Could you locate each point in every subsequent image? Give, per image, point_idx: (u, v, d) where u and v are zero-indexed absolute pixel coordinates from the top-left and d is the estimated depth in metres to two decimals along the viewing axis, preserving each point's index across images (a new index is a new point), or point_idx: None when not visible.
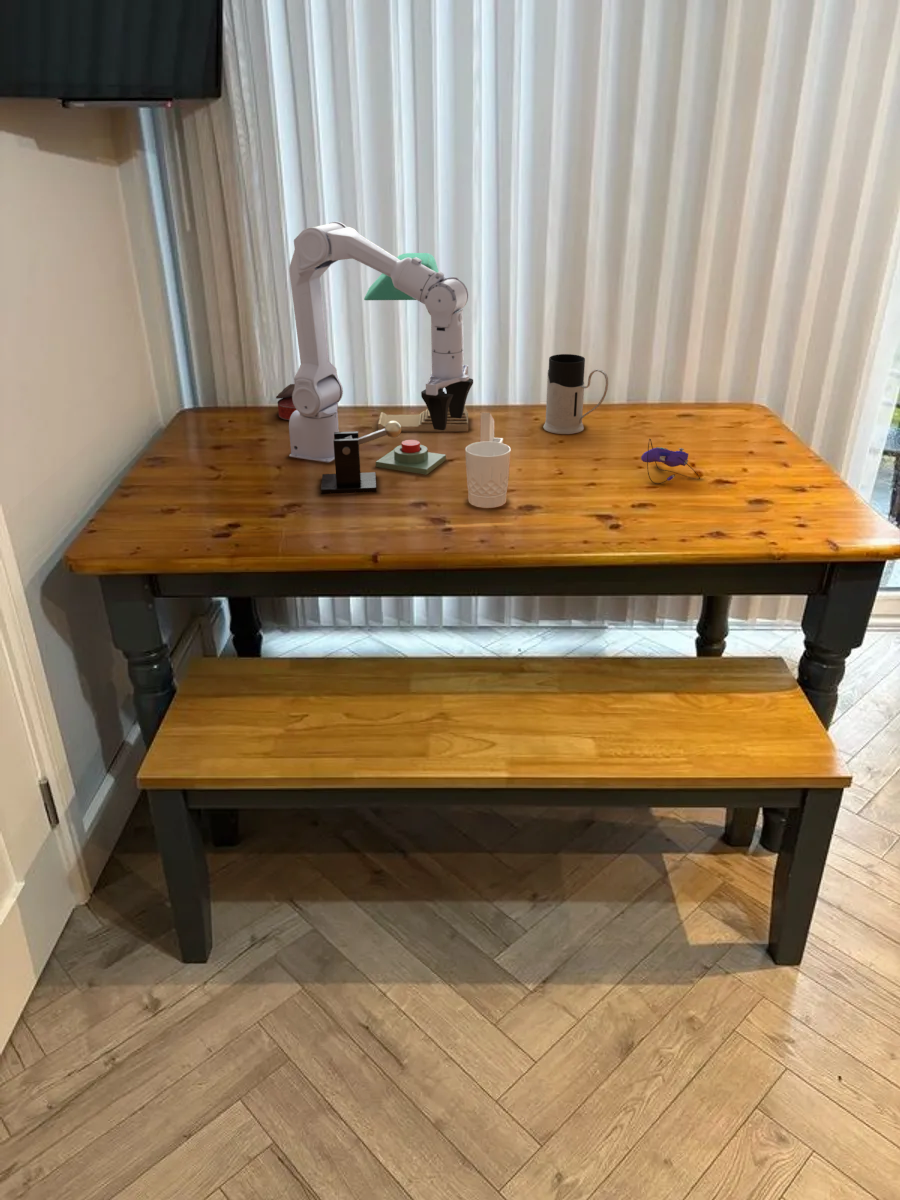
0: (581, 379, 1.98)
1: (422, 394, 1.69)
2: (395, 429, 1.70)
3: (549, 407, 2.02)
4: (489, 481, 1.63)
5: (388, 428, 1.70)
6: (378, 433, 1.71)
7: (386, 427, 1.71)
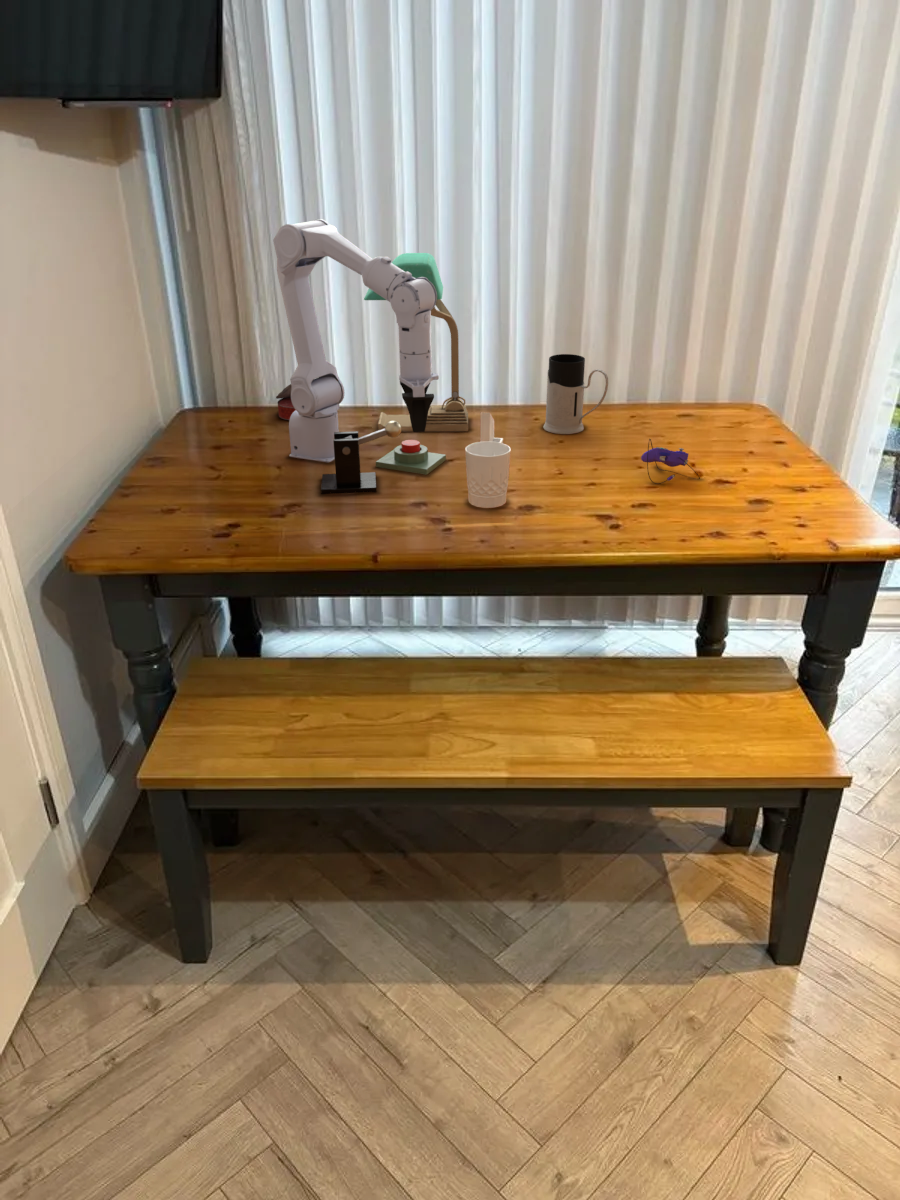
0: (581, 379, 1.98)
1: (405, 398, 1.66)
2: (395, 429, 1.70)
3: (549, 407, 2.02)
4: (489, 481, 1.63)
5: (388, 428, 1.70)
6: (378, 433, 1.71)
7: (386, 427, 1.71)
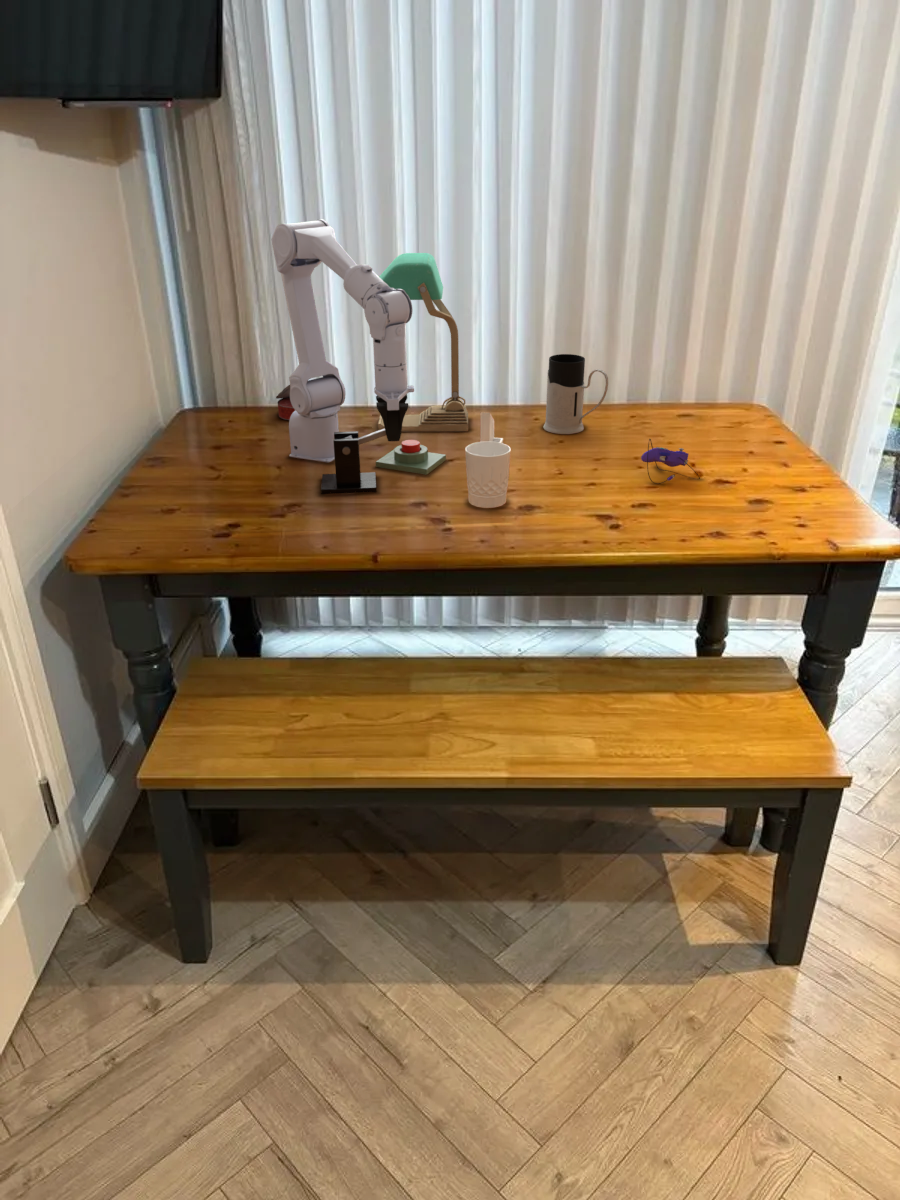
0: (581, 379, 1.98)
1: (379, 407, 1.66)
2: None
3: (549, 407, 2.02)
4: (489, 481, 1.63)
5: None
6: (378, 433, 1.71)
7: None
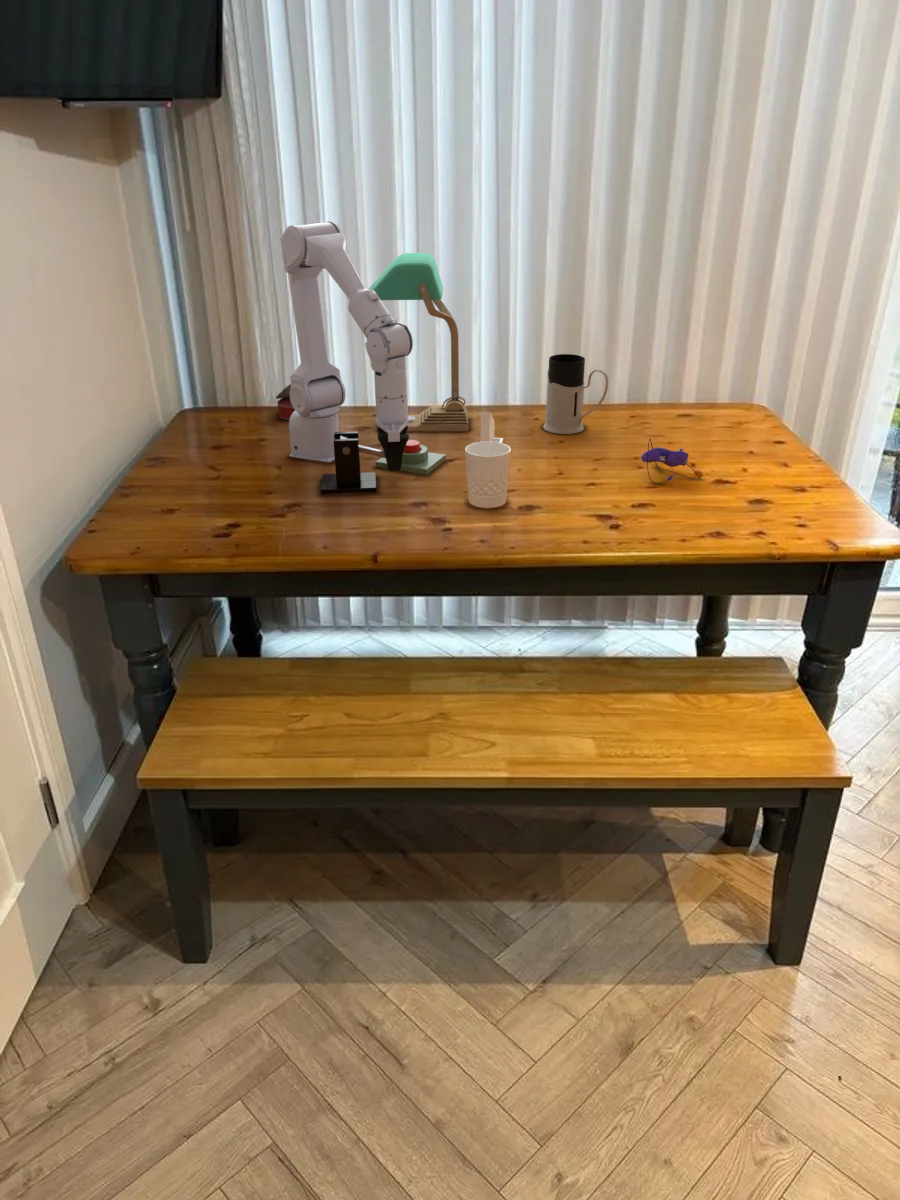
0: (581, 379, 1.98)
1: (380, 438, 1.68)
2: None
3: (549, 407, 2.02)
4: (489, 481, 1.63)
5: None
6: (380, 452, 1.73)
7: None
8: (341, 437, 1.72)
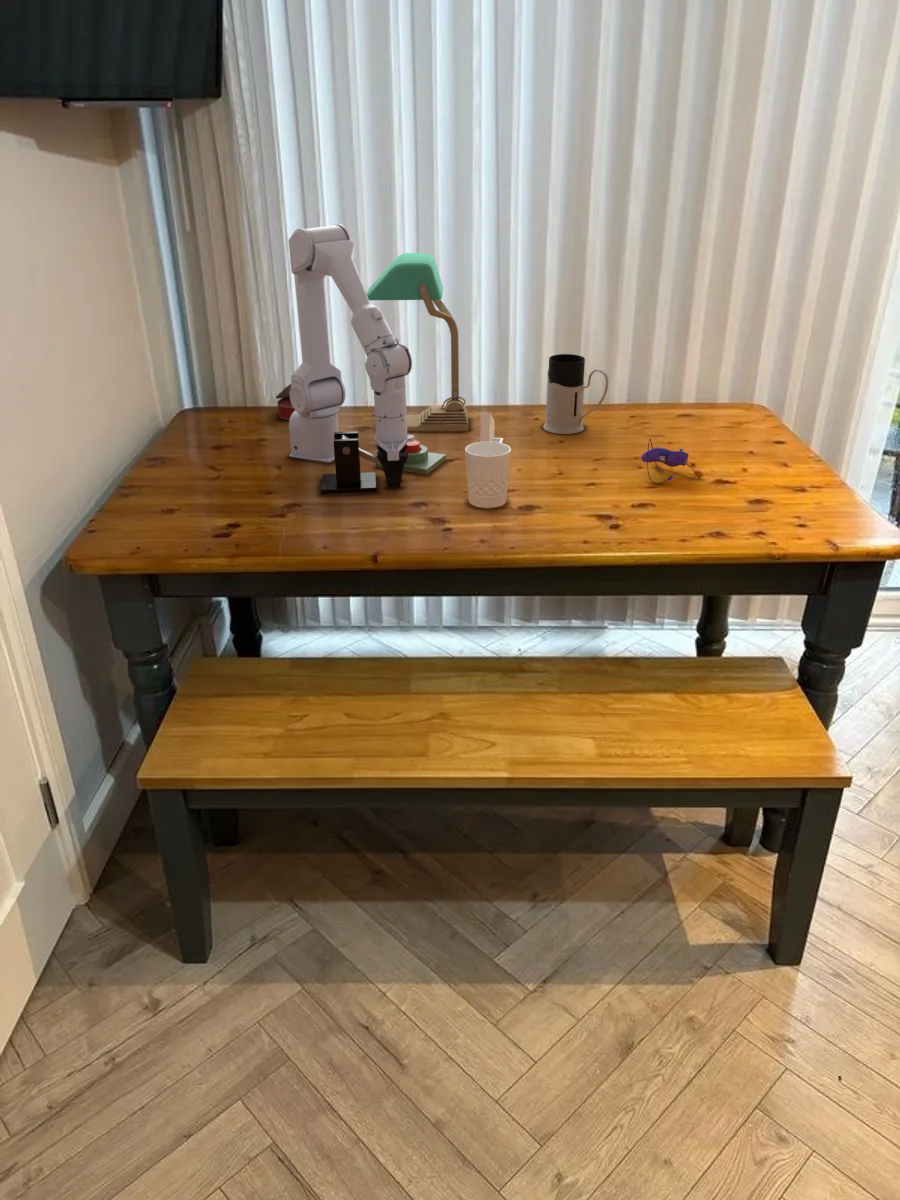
0: (581, 379, 1.98)
1: (380, 457, 1.70)
2: None
3: (549, 407, 2.02)
4: (489, 481, 1.63)
5: None
6: (378, 460, 1.74)
7: None
8: (343, 436, 1.72)
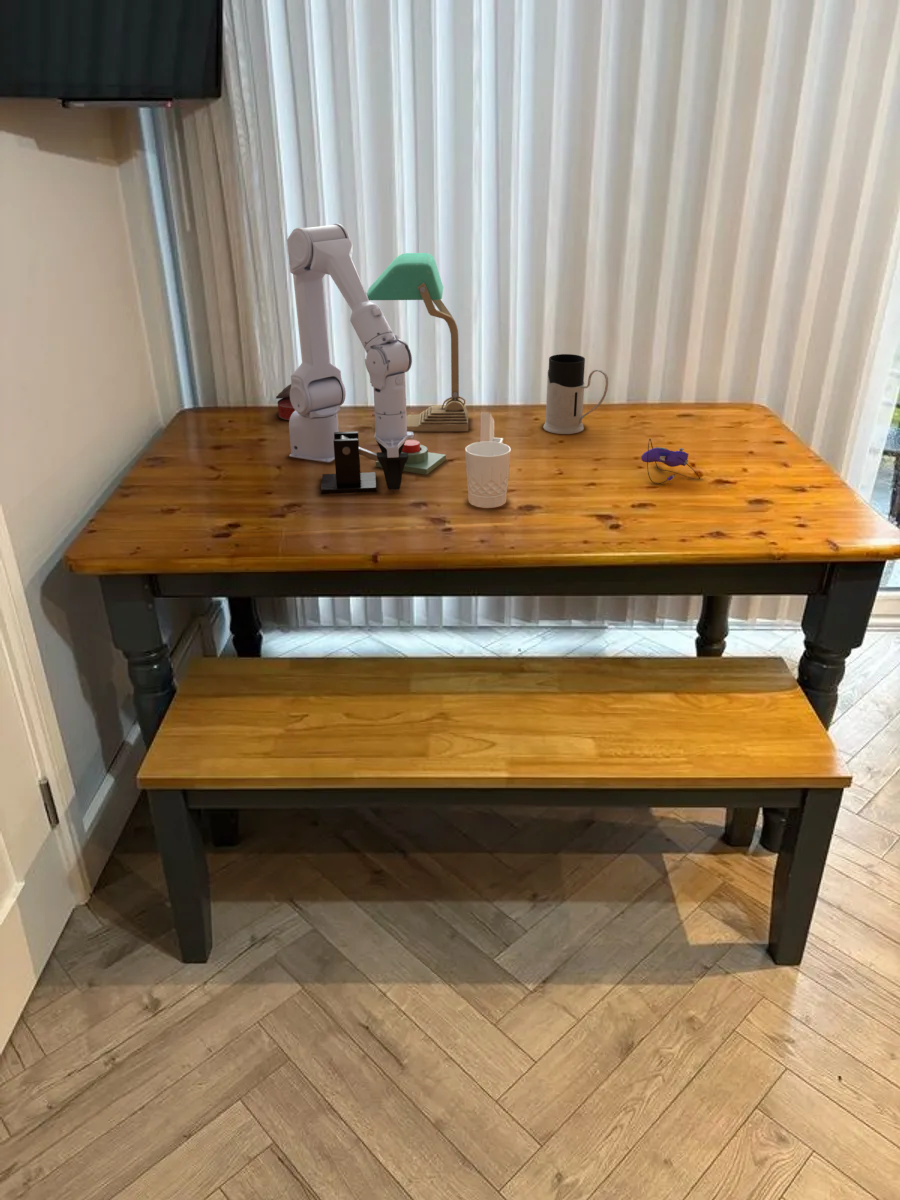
0: (581, 379, 1.98)
1: (380, 458, 1.68)
2: None
3: (549, 407, 2.02)
4: (489, 481, 1.63)
5: None
6: None
7: None
8: (342, 436, 1.72)
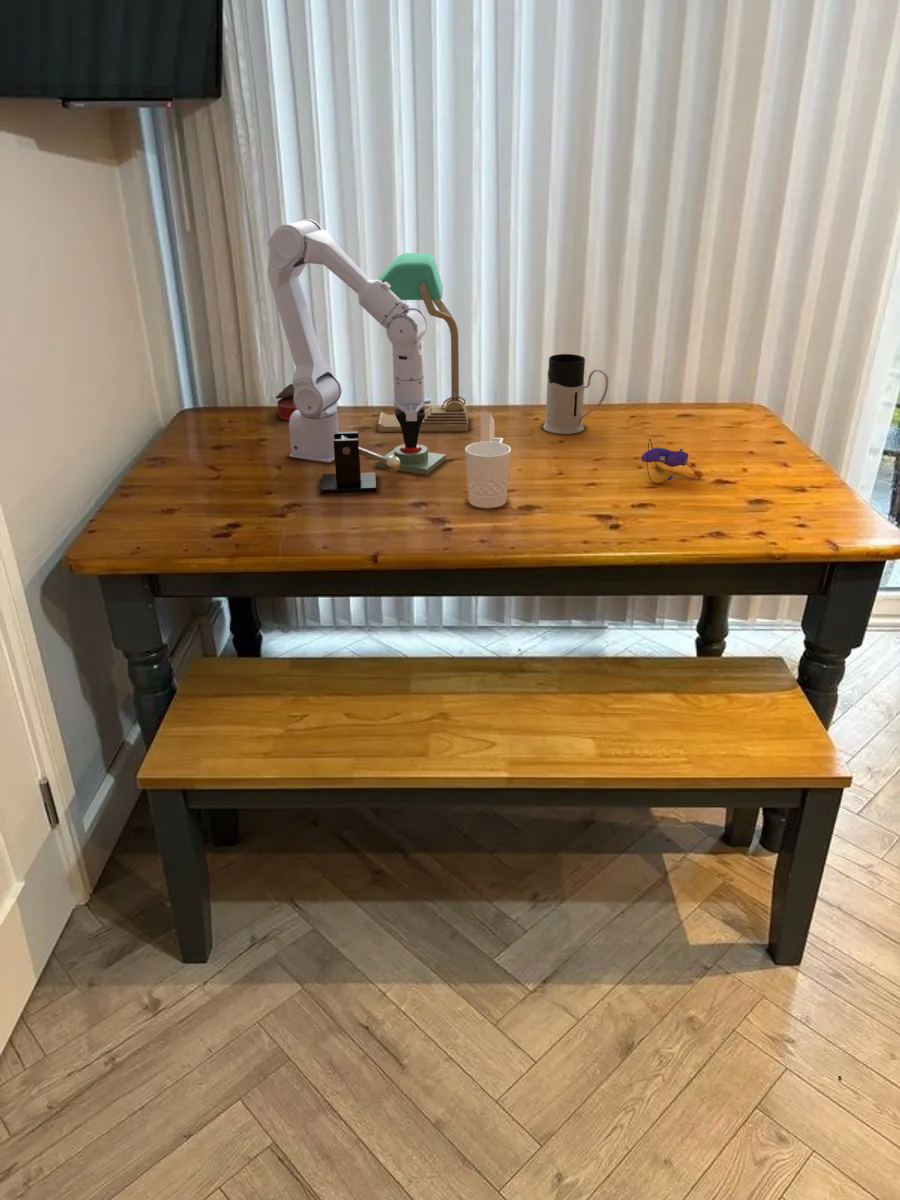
0: (581, 379, 1.98)
1: (398, 416, 1.79)
2: (395, 466, 1.74)
3: (549, 407, 2.02)
4: (489, 481, 1.63)
5: (390, 460, 1.73)
6: (379, 457, 1.74)
7: (389, 458, 1.74)
8: (342, 436, 1.72)
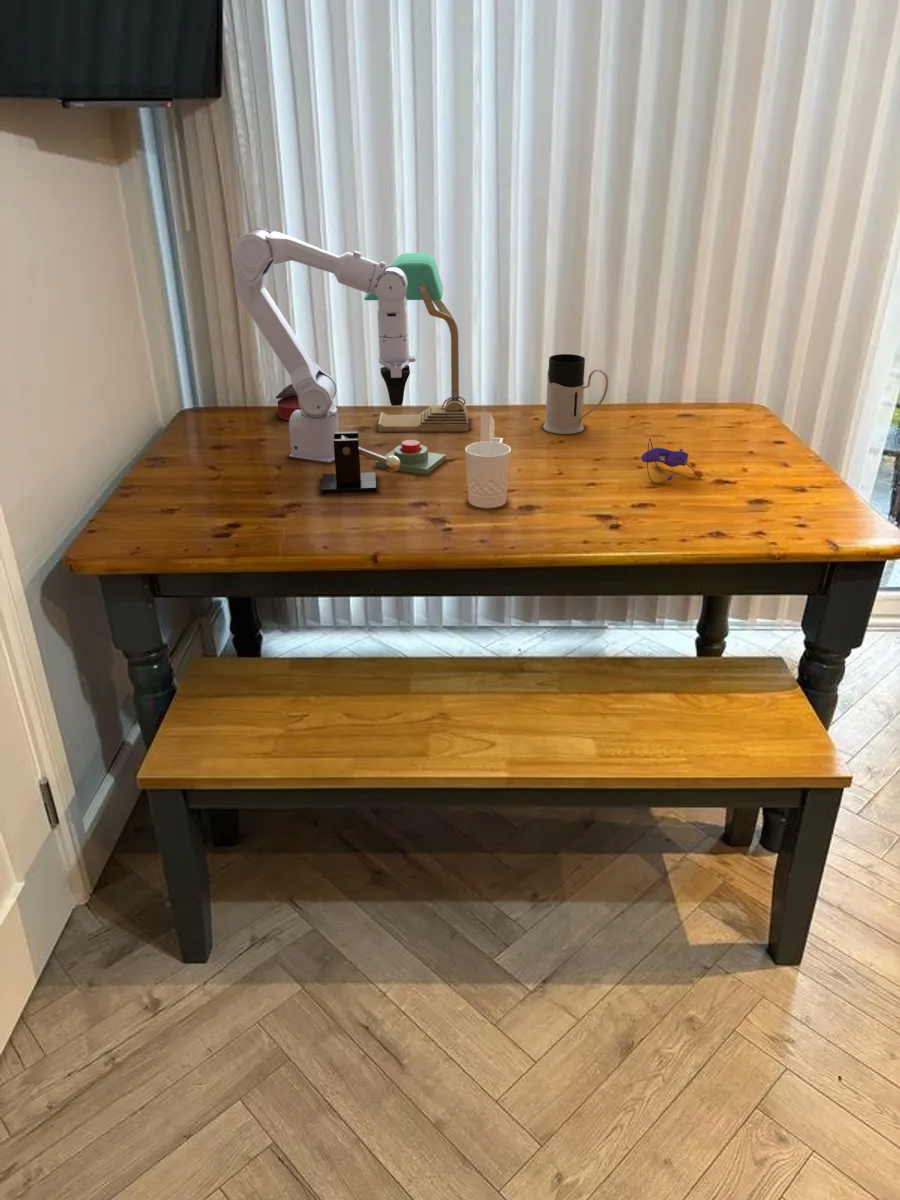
0: (581, 379, 1.98)
1: (383, 374, 1.81)
2: (395, 466, 1.74)
3: (549, 407, 2.02)
4: (489, 481, 1.63)
5: (390, 460, 1.73)
6: (379, 457, 1.74)
7: (389, 458, 1.74)
8: (342, 436, 1.72)
